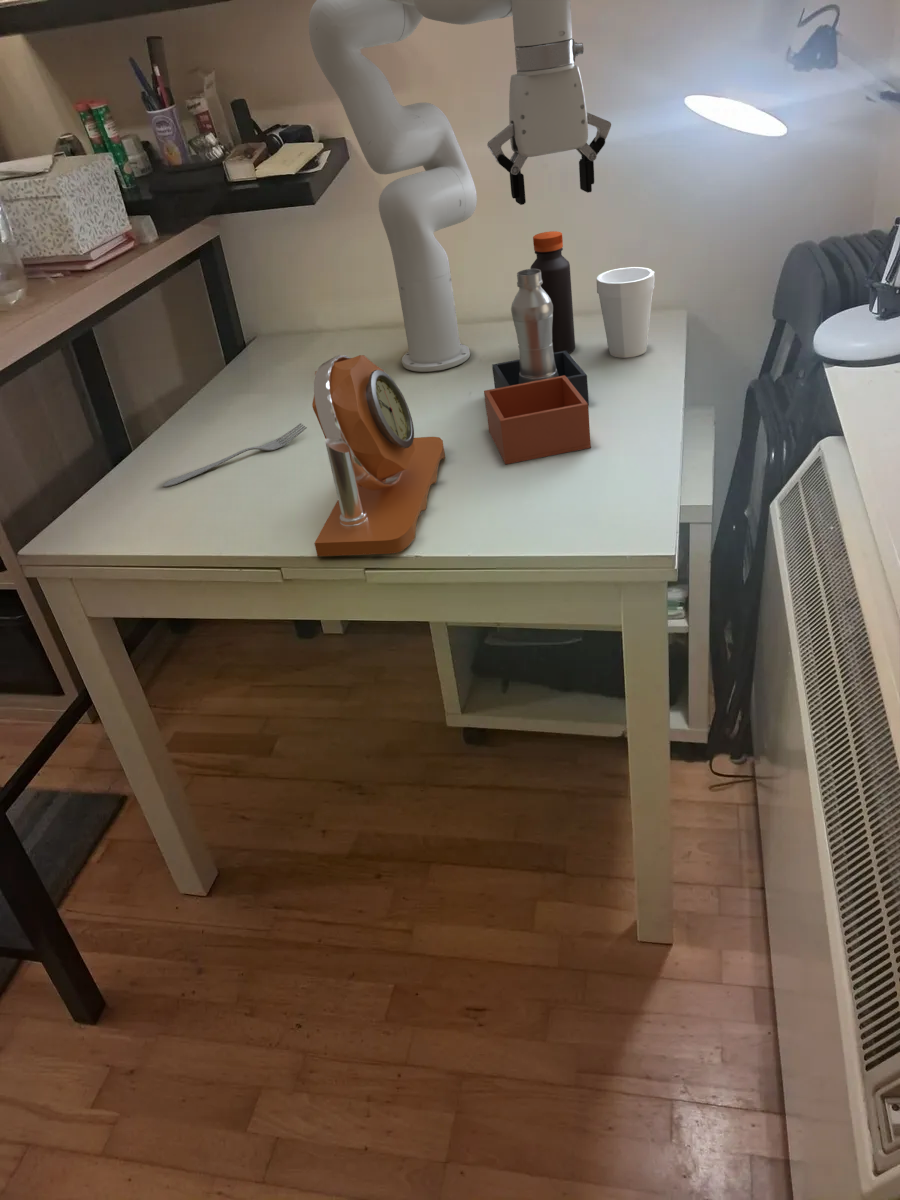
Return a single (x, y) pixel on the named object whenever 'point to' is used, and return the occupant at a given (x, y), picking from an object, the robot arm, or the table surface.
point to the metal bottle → (533, 328)
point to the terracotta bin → (537, 419)
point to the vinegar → (556, 287)
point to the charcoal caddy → (565, 366)
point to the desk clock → (371, 459)
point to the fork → (269, 446)
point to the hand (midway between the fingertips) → (553, 196)
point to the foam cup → (626, 309)
